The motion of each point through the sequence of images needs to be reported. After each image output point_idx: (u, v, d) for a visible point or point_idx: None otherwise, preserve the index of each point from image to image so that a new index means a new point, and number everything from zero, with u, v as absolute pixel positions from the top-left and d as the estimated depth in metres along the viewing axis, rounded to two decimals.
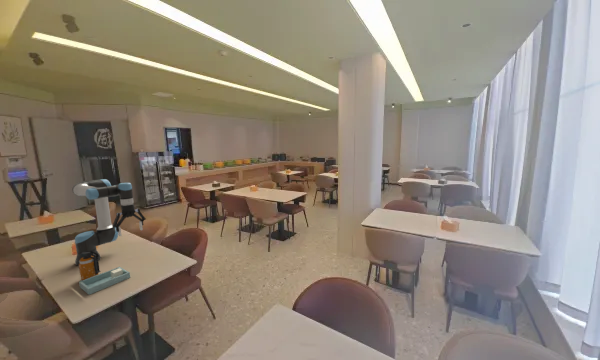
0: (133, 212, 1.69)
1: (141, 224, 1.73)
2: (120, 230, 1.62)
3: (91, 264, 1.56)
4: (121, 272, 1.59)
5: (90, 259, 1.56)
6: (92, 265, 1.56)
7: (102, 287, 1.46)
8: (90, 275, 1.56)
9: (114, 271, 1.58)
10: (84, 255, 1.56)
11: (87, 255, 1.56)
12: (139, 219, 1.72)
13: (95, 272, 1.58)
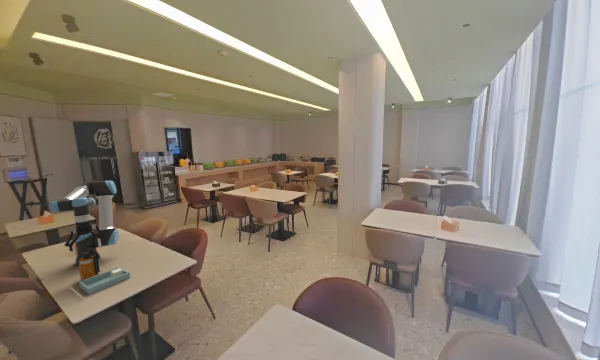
0: (90, 229, 1.56)
1: (99, 242, 1.61)
2: (74, 249, 1.50)
3: (91, 264, 1.56)
4: (121, 272, 1.59)
5: (90, 259, 1.56)
6: (92, 265, 1.56)
7: (102, 287, 1.46)
8: (90, 275, 1.56)
9: (114, 271, 1.58)
10: (84, 255, 1.56)
11: (87, 255, 1.56)
12: (97, 236, 1.60)
13: (95, 272, 1.58)
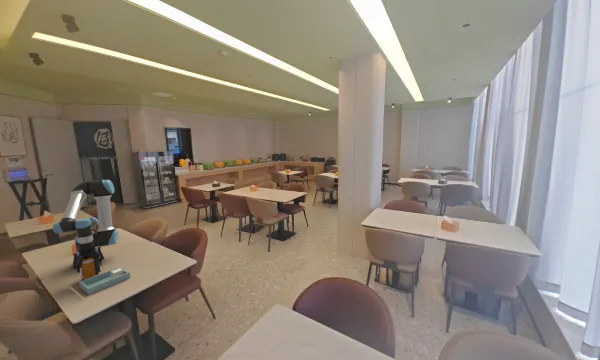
0: (92, 249, 1.58)
1: (99, 264, 1.61)
2: (81, 271, 1.53)
3: (92, 264, 1.56)
4: (121, 272, 1.59)
5: (91, 259, 1.56)
6: (93, 264, 1.57)
7: (102, 287, 1.46)
8: (90, 275, 1.56)
9: (114, 271, 1.58)
10: None
11: (88, 254, 1.56)
12: None
13: (96, 272, 1.58)
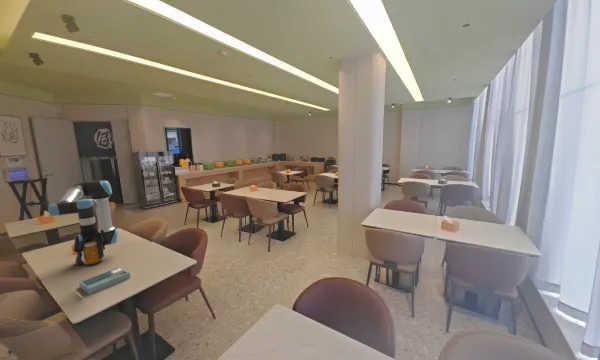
0: (95, 232, 1.47)
1: None
2: (83, 255, 1.43)
3: (94, 247, 1.46)
4: (121, 272, 1.59)
5: (93, 242, 1.46)
6: (95, 248, 1.46)
7: (102, 287, 1.46)
8: (93, 259, 1.45)
9: (114, 271, 1.58)
10: None
11: None
12: None
13: (99, 256, 1.47)
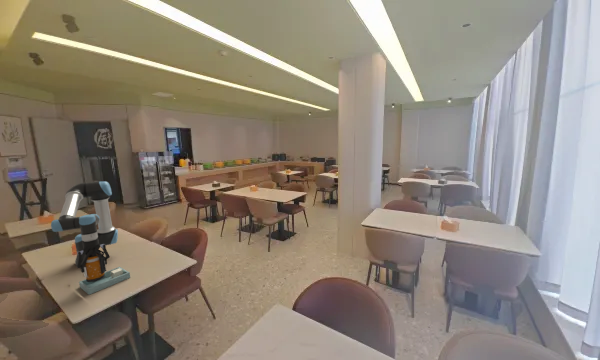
0: (97, 248, 1.49)
1: None
2: (85, 270, 1.44)
3: (97, 263, 1.47)
4: (121, 272, 1.59)
5: (96, 257, 1.47)
6: (98, 263, 1.47)
7: (102, 287, 1.46)
8: (95, 274, 1.47)
9: (114, 271, 1.58)
10: None
11: None
12: None
13: (101, 271, 1.49)
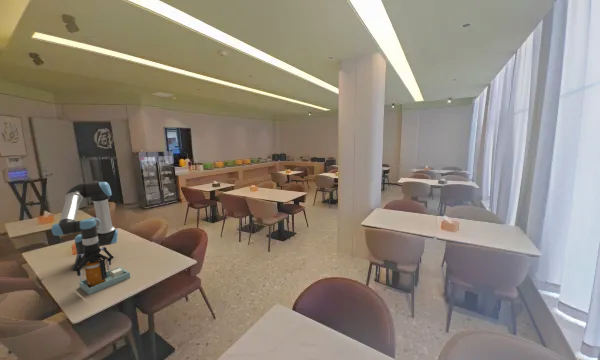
0: (98, 251, 1.49)
1: (108, 264, 1.54)
2: (81, 274, 1.43)
3: (98, 269, 1.47)
4: (121, 272, 1.59)
5: (97, 263, 1.48)
6: (99, 269, 1.48)
7: (102, 287, 1.46)
8: (96, 280, 1.47)
9: (114, 271, 1.58)
10: (91, 260, 1.47)
11: (93, 259, 1.48)
12: (105, 258, 1.52)
13: (102, 277, 1.49)
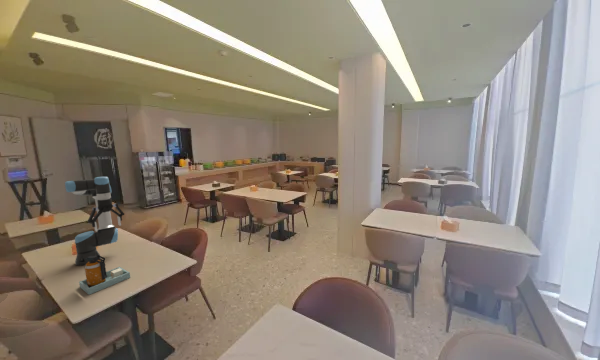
0: (110, 207, 1.64)
1: (119, 219, 1.69)
2: (96, 225, 1.58)
3: (98, 269, 1.47)
4: (121, 272, 1.59)
5: (97, 263, 1.47)
6: (99, 269, 1.48)
7: (102, 287, 1.46)
8: (96, 280, 1.47)
9: (114, 271, 1.58)
10: (91, 260, 1.47)
11: (93, 259, 1.48)
12: (117, 214, 1.67)
13: (102, 277, 1.49)
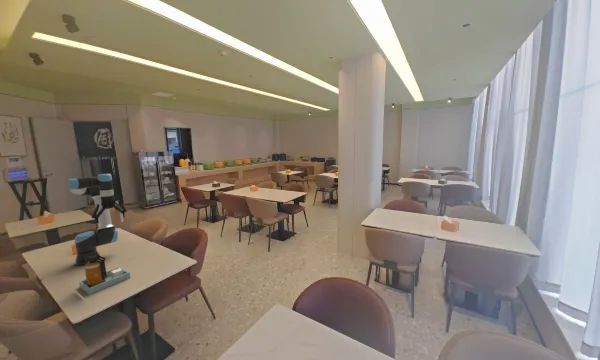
0: (113, 204, 1.67)
1: (122, 216, 1.72)
2: (99, 221, 1.61)
3: (98, 269, 1.47)
4: (121, 272, 1.59)
5: (97, 263, 1.47)
6: (99, 269, 1.48)
7: (102, 287, 1.46)
8: (96, 280, 1.47)
9: (114, 271, 1.58)
10: (91, 260, 1.47)
11: (93, 259, 1.48)
12: (120, 211, 1.71)
13: (102, 277, 1.49)
